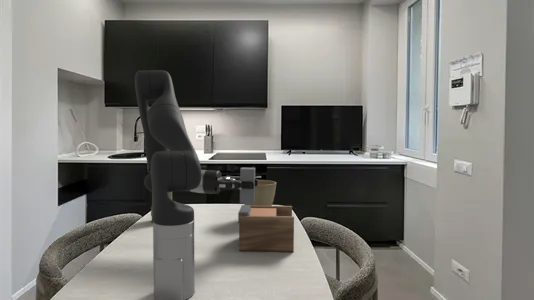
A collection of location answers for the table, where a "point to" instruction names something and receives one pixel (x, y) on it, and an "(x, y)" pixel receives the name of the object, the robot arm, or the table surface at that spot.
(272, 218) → the walnut frame
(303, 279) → the table surface
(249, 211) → the trapdoor
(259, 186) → the plant pot
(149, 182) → the robot arm
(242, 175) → the basalt block
